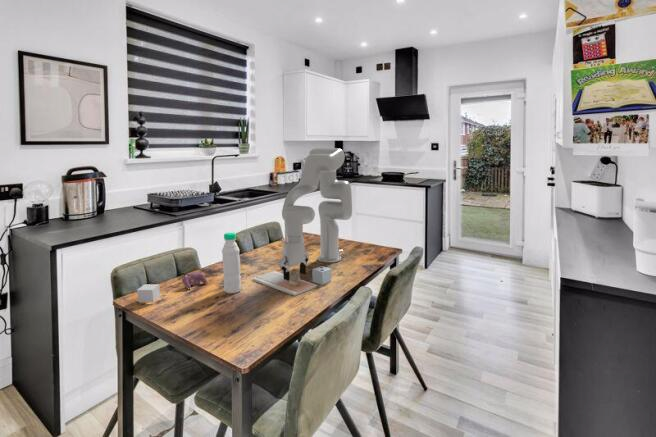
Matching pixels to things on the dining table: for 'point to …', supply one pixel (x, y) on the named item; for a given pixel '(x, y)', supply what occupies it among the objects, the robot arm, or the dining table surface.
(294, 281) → the pawn
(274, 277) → the board
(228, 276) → the water bottle
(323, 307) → the dining table surface
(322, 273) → the die
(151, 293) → the light grey cube
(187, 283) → the video game controller
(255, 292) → the dining table surface
